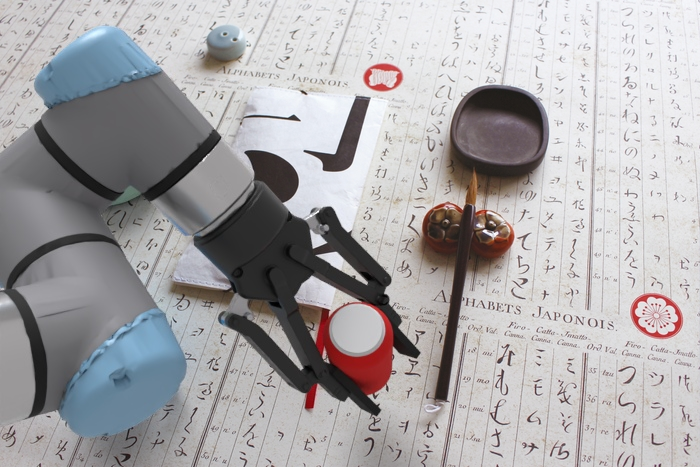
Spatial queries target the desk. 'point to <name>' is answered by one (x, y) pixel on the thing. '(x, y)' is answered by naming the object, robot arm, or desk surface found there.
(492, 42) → the desk surface
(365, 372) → the beverage can
